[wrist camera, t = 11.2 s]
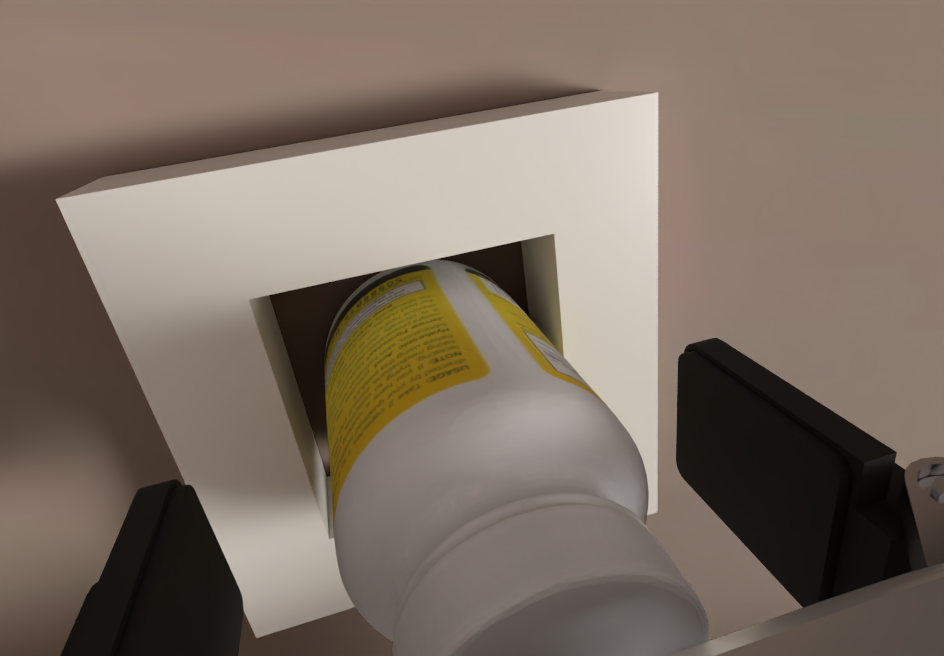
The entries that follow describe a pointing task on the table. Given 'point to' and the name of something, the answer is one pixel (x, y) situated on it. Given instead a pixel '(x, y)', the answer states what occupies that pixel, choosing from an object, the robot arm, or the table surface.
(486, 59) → the table surface
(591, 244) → the socket block
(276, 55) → the table surface
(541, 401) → the supplement bottle
